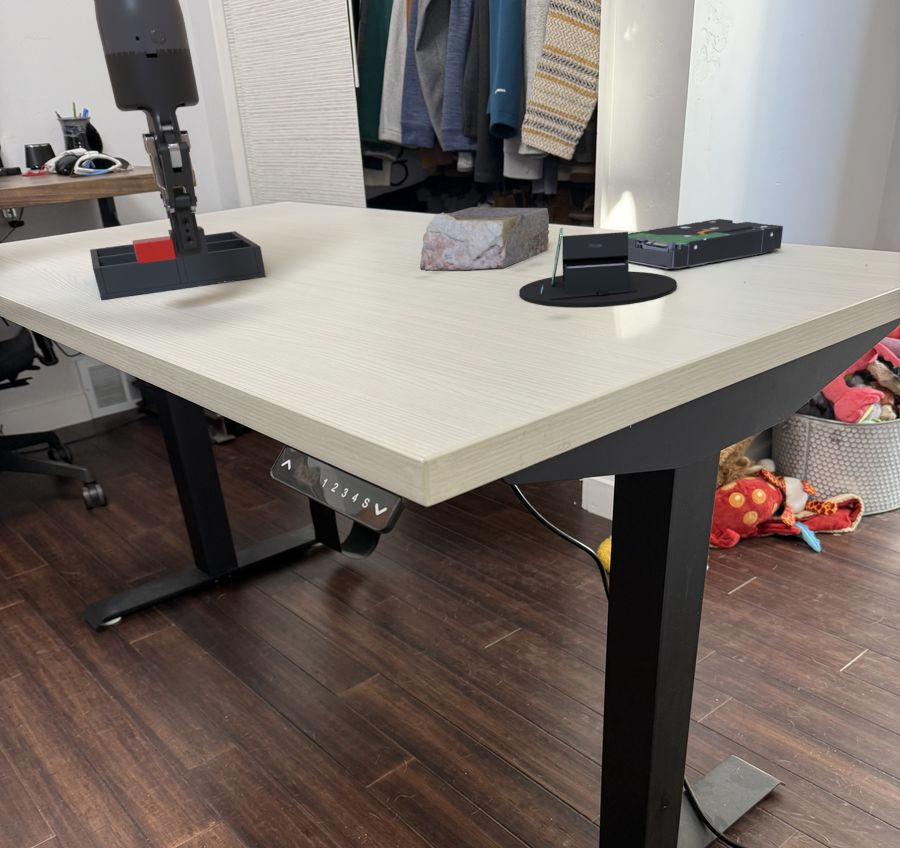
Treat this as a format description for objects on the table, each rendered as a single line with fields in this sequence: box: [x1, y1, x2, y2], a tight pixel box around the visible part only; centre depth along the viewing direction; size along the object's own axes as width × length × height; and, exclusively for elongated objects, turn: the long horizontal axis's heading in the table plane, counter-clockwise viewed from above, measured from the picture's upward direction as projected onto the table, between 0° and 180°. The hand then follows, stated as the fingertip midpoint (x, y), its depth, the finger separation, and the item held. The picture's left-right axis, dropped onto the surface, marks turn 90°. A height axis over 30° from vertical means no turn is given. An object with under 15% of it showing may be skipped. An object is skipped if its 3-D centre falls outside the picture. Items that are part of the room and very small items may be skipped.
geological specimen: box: [419, 206, 550, 272], centre depth 103 cm, size 11×6×15 cm
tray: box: [89, 230, 266, 301], centre depth 110 cm, size 19×19×4 cm
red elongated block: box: [132, 225, 209, 263], centre depth 85 cm, size 7×3×2 cm, turn 111°
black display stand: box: [518, 227, 678, 308], centre depth 82 cm, size 15×15×6 cm
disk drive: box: [628, 218, 784, 270], centre depth 94 cm, size 10×3×15 cm
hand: (189, 251), depth 86 cm, fingers closed on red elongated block, 2 cm apart
